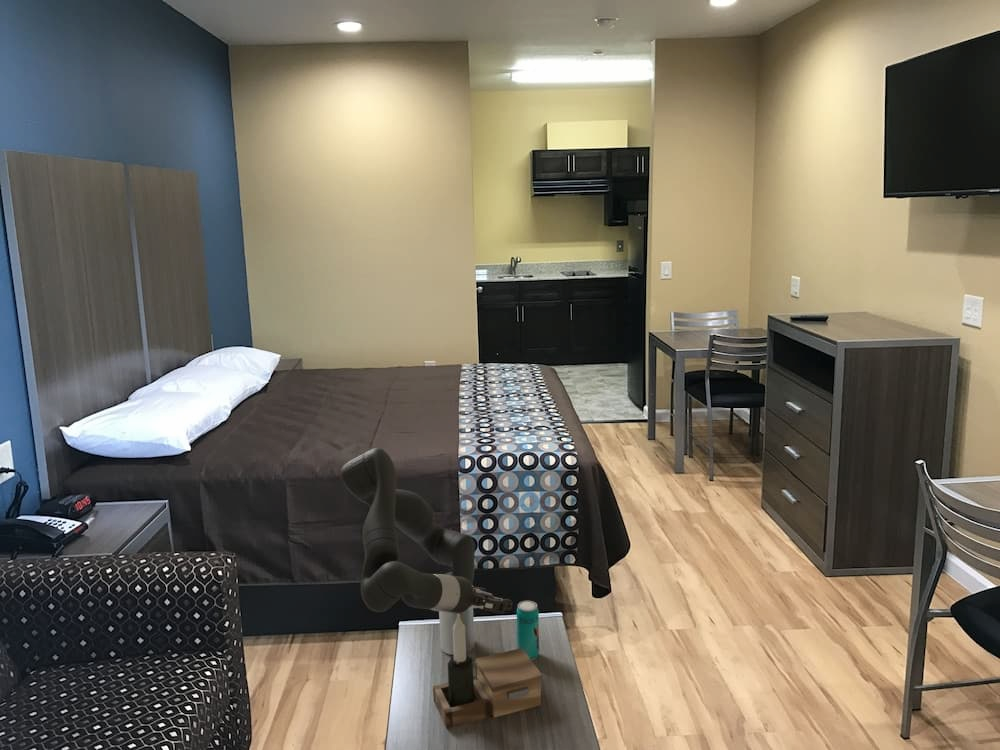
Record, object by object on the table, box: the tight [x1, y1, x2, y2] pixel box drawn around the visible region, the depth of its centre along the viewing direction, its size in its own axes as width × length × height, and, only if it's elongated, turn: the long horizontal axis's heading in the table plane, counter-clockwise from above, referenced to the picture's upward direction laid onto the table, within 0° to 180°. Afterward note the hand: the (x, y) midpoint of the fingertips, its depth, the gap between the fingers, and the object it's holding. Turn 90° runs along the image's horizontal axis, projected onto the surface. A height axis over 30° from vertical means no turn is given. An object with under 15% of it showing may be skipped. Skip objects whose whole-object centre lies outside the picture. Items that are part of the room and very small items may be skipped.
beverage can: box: [516, 600, 540, 662], centre depth 205 cm, size 6×6×15 cm
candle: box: [447, 614, 475, 708], centre depth 183 cm, size 5×5×25 cm
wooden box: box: [432, 648, 543, 729], centre depth 187 cm, size 14×24×8 cm, turn 110°
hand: (497, 599), depth 175 cm, fingers open, 8 cm apart
